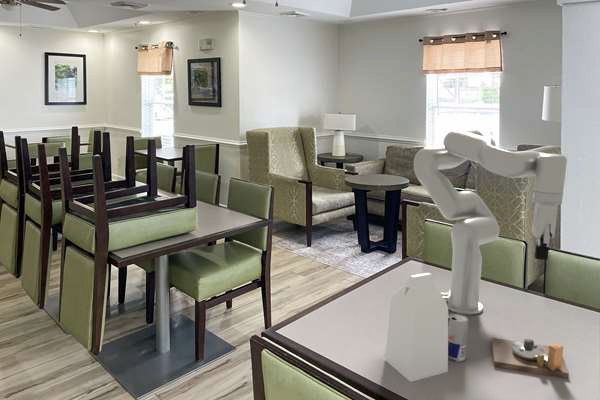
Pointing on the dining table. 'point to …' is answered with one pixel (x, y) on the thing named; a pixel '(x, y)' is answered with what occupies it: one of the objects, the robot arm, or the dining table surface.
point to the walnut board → (510, 361)
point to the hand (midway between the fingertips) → (541, 258)
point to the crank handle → (550, 361)
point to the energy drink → (457, 337)
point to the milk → (418, 329)
